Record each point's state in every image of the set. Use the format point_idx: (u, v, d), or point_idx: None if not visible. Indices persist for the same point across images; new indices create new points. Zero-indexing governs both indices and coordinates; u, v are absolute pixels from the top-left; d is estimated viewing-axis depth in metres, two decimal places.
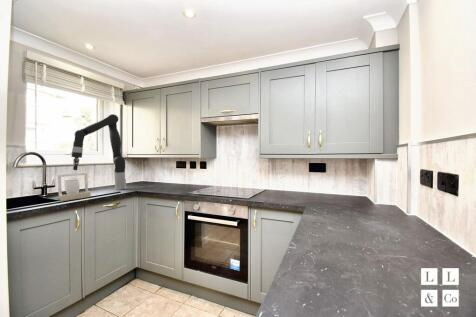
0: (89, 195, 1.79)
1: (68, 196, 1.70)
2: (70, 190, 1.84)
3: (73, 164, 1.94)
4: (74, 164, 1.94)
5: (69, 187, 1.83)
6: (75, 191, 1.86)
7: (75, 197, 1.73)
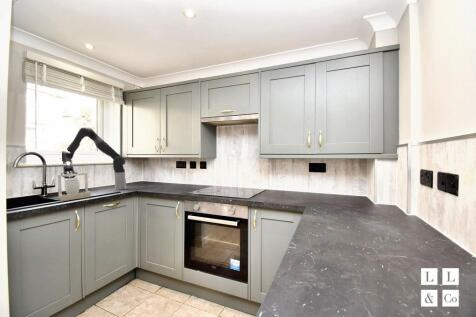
0: (89, 195, 1.79)
1: (68, 196, 1.70)
2: (70, 190, 1.84)
3: None
4: None
5: (69, 187, 1.83)
6: (75, 191, 1.86)
7: (75, 197, 1.73)
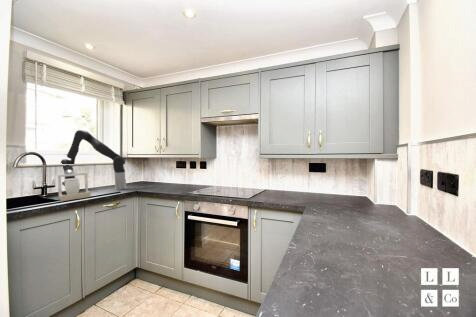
0: (89, 195, 1.79)
1: (68, 196, 1.70)
2: (70, 190, 1.83)
3: None
4: None
5: (69, 187, 1.83)
6: (75, 191, 1.86)
7: (75, 197, 1.73)
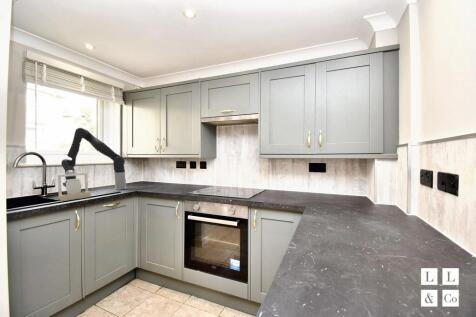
0: (89, 195, 1.79)
1: (68, 196, 1.70)
2: (72, 191, 1.78)
3: None
4: None
5: (71, 188, 1.77)
6: (77, 192, 1.80)
7: (75, 197, 1.73)
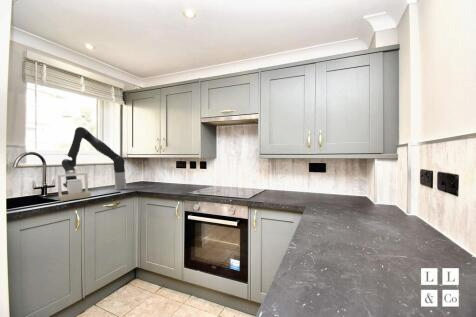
0: (89, 195, 1.79)
1: (68, 196, 1.70)
2: (73, 191, 1.75)
3: None
4: None
5: (73, 188, 1.74)
6: (79, 192, 1.78)
7: (75, 197, 1.73)
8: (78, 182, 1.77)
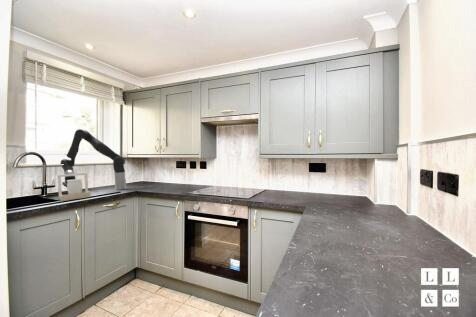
0: (89, 195, 1.79)
1: (68, 196, 1.70)
2: (73, 191, 1.75)
3: None
4: None
5: (73, 188, 1.74)
6: (79, 192, 1.78)
7: (75, 197, 1.73)
8: (78, 182, 1.77)
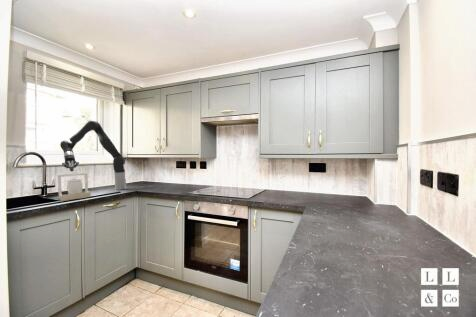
0: (89, 195, 1.79)
1: (68, 196, 1.70)
2: (73, 191, 1.75)
3: None
4: None
5: (73, 188, 1.74)
6: (79, 192, 1.78)
7: (75, 197, 1.73)
8: (78, 182, 1.77)
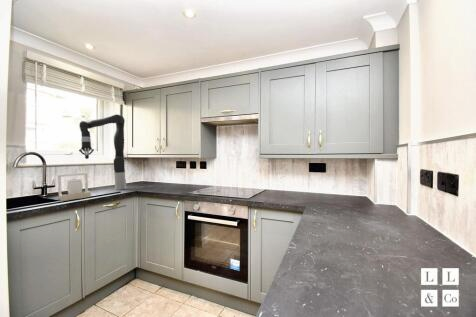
0: (89, 195, 1.79)
1: (68, 196, 1.70)
2: (73, 191, 1.75)
3: None
4: None
5: (73, 188, 1.74)
6: (79, 192, 1.78)
7: (75, 197, 1.73)
8: (78, 182, 1.77)
